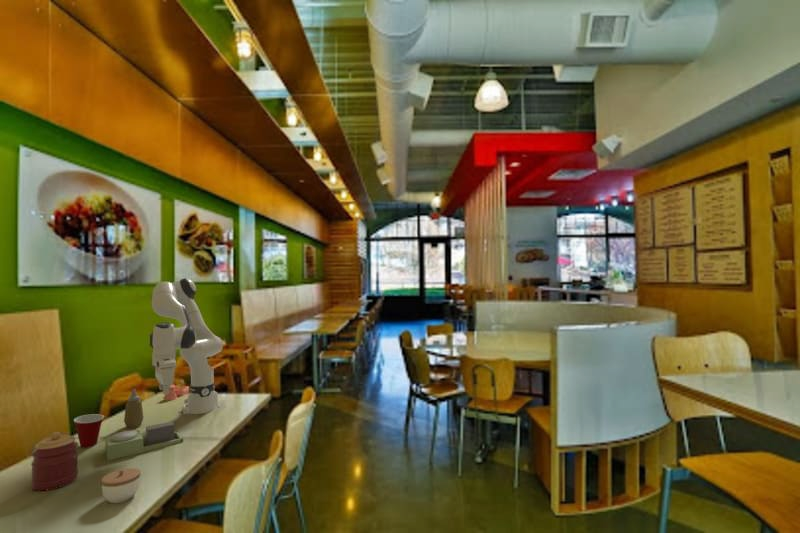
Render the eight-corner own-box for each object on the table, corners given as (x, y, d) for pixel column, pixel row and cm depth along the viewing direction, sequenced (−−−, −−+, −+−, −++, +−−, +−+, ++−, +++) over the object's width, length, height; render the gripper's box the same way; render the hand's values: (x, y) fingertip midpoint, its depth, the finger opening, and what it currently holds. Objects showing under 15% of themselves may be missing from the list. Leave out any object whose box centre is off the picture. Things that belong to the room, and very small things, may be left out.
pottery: (172, 393, 266) (172, 377, 266) (188, 392, 266) (188, 377, 267) (159, 402, 248) (159, 385, 248) (176, 401, 248) (176, 384, 249)
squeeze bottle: (147, 423, 210) (147, 387, 210) (135, 429, 202) (135, 391, 202) (132, 423, 211) (132, 387, 211) (119, 429, 203) (119, 391, 203)
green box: (105, 451, 177) (105, 434, 177) (177, 435, 194) (177, 419, 194) (108, 461, 168) (108, 442, 168) (183, 443, 184) (183, 426, 184)
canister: (72, 470, 160) (72, 423, 160) (83, 480, 152) (83, 430, 152) (27, 484, 150) (27, 433, 150) (35, 495, 141) (35, 442, 142)
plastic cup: (93, 449, 179) (93, 421, 179) (67, 450, 178) (67, 421, 179) (110, 439, 190) (110, 412, 190) (85, 440, 189) (85, 413, 190)
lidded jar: (147, 490, 144) (147, 462, 144) (128, 507, 133) (128, 477, 133) (114, 491, 144) (115, 463, 144) (93, 508, 133) (93, 478, 133)
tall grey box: (145, 445, 183) (145, 426, 183) (171, 439, 189) (171, 421, 189) (147, 449, 179) (147, 429, 179) (174, 443, 185) (174, 424, 185)
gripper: (151, 357, 192) (151, 388, 192) (160, 365, 176) (160, 398, 176) (167, 355, 196) (167, 385, 196) (177, 363, 180) (177, 395, 180)
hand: (163, 392), depth 186 cm, fingers open, 8 cm apart
